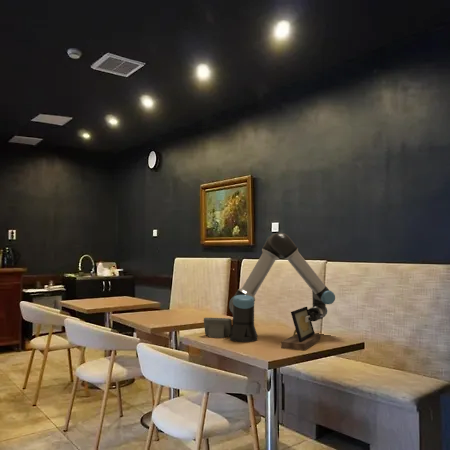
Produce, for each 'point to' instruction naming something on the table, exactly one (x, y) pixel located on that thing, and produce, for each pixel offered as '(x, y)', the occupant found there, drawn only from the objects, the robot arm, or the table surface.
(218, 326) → the digital clock
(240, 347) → the table surface
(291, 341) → the plinth
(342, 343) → the table surface
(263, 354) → the table surface
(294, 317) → the picture frame
